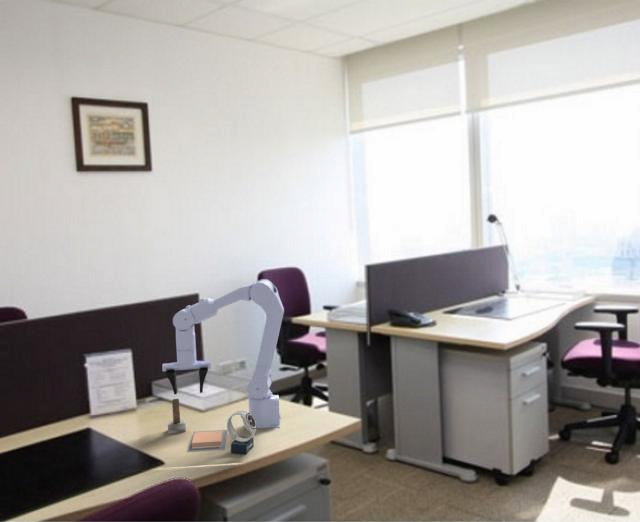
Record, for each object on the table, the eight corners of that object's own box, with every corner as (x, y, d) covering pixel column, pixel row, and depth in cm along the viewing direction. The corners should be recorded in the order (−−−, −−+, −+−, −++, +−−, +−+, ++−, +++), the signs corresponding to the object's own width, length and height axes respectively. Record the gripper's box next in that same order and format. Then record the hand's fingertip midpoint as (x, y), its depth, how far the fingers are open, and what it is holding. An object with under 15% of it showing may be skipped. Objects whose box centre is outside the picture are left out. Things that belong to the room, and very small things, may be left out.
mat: (227, 431, 182) (227, 429, 182) (224, 451, 167) (224, 449, 167) (193, 433, 181) (193, 431, 181) (187, 453, 166) (187, 451, 166)
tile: (222, 430, 177) (221, 441, 169) (223, 436, 177) (221, 446, 169) (194, 432, 176) (191, 443, 168) (195, 437, 176) (192, 448, 168)
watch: (253, 456, 163) (251, 416, 162) (225, 454, 165) (223, 414, 164) (260, 448, 168) (259, 409, 167) (233, 446, 170) (231, 408, 169)
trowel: (185, 429, 184) (184, 397, 183) (185, 433, 181) (184, 400, 180) (168, 431, 183) (167, 398, 182) (168, 435, 180) (166, 402, 179)
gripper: (211, 344, 190) (213, 387, 191) (163, 347, 189) (166, 390, 190) (209, 349, 183) (212, 394, 184) (160, 352, 182) (162, 397, 183)
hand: (188, 392), depth 187 cm, fingers open, 7 cm apart
